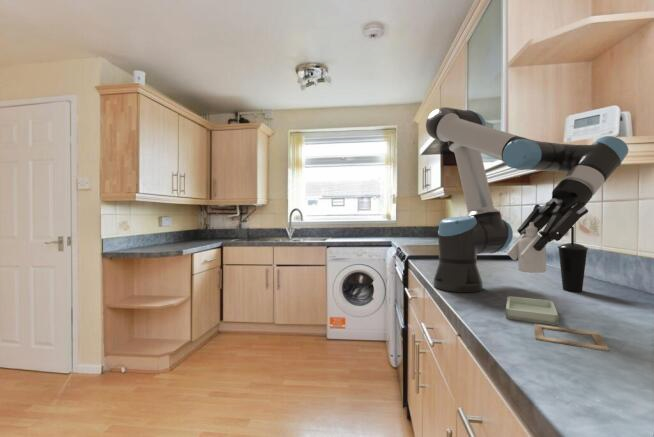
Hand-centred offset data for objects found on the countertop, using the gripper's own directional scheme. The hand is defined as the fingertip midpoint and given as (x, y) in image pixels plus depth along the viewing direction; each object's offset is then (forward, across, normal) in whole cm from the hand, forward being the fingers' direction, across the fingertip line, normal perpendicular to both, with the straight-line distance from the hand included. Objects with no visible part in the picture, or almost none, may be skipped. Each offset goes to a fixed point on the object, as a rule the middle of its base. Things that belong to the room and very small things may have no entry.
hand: (517, 257), depth 77 cm
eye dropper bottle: (0, 0, -5) cm, 5 cm away
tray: (+7, 0, -12) cm, 15 cm away
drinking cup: (-14, +18, -34) cm, 41 cm away
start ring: (+10, -13, -10) cm, 19 cm away
